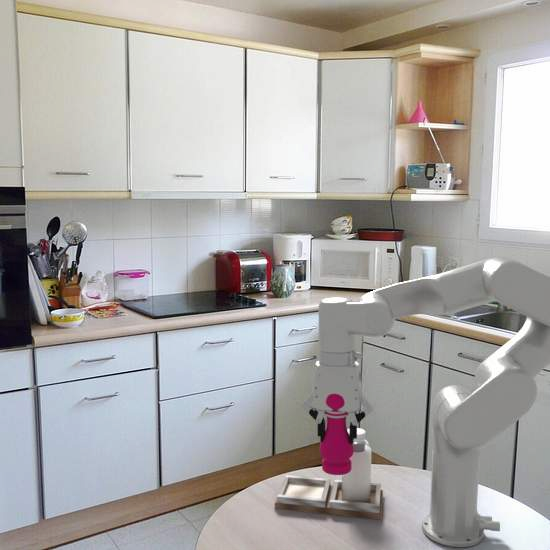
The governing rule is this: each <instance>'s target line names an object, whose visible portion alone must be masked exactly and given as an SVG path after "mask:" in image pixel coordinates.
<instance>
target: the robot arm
mask: <svg viewBox="0 0 550 550" xmlns="http://www.w3.org/2000/svg"><path fill="white" fill-rule="evenodd" d="M492 302H493V303H494V302H498V303H499V304H500V305H503V306H504V307H506V308H508V309H510V310H513V311H515V312H517V313H519V314H522V315H523V316H525V317H526V318H525V321H524V324H523V326H522V327H521V328H520V329H519V331H518V332H516V334H515V335H514V336H513V337H511V338H510V339H509V340H508V341H506V343H504V344H503V345H502V346H500V347H499V348H498V349H496V351H494V352H493V353H491V354H490V355H489V356H488V357H487V358H485V359H484V360H482V362H481V363H480V364H479V365H478V366H477V368H476V370H475V374H474V381H475V384H476V386H477V389H476V390H474V391H472V390H470V389H469V388H467V387H465V386H463V385H458V384H452V385H448V386H445V387H443V388H442V389H440V390H439V391H437V392H438V393H436V395H435V396H434V399H433V402H432V406H431V423H432V424H431V426H432V428H431V429H432V450H431V451H432V454H431V456H432V457H431V478H430V481H431V482H430V502H429V503H430V504H429V507H430V509H429V514H428V515H426V516H425V517H424V518H423V519H422V522H421V529H422V531H423V533H424V534H425V535H426V537H428V538H429V539H431V540H432V541H434V542H436V543H438V544H441V545H443V546H447V547H453V548H468V547H474V546H476V545H478V544H480V543H481V542H482V540H483V539H484V531H485V530H486V531H490V532H500V531H501V523H500V521H496V520H493V517H492V516H490V515H481V513H480V514H479V511H478V496H479V495H478V494H479V491H478V490H479V476H480V475H479V473H480V461H481V460H480V459H481V458H480V457H481V455H480V453H481V451H480V450H481V448H483V447H485V446H486V445H488V444H489V443H491V442H492V441H494V440H495V439H496V438H497V437H498V436H500V435H501V434H503V433H504V432H505V431H506V430H508V429H509V428H510V427H512V426H513V425H515V423H516V422H518V421H519V420H521V418H523V417H524V416H525V415H526V414H527V413H528V412H529V411H530V410H531V409H532V407H533V406H534V404H535V402H536V400H537V396H538V387H537V382H536V380H535V378H536V377H537V376H538V375H539V374H540V373H541V372H542V371H543V370H544V369H546V368H547V367H548V366H549V365H550V276H547V275H546V274H544V273H542V272H540V271H537V270H535V269H533V268H532V267H529V266H527V265H525V264H523V263H521V262H520V261H517V260H514V259H512V258H509V257H505V256H495V257H489V258H486V259H483V260H480V261H476V262H473V263H469V264H467V265H464V266H460V267H458V268H457V267H456V268H454V269H451V270H448V271H444V272H440V273H437V274H433V275H429V276H424V277H421V278H416V279H413V280H406V281H403V282H398V283H394V284H391V285H388V286H385V287H382V288H378V289H375V290H373V291H370V292H367V293H365V294H363V295H361V296H360V297H359V298H358V299H357V301H356V302H354V301H353V300H352V299H350V298H347V297H327V298H324V299H322V300H321V301H320V302H319V303H318V360H317V361H316V362H315V366H314V373H313V381H312V391H311V393H310V394H309V395H308V396H307V397H306V398H305V399H304V401H302V402H301V403H302V404H301V407H302V409H303V410H304V411H306V412H307V413H308V414H309V416H311V418H312V419H313V420H314V421H315V422H316V424H317V437H320V440H319V442H320V443H321V442H323V440H324V434H325V431H326V420H325V418H324V415H325V411H333V410H332V409H331V408H330V407H328V406H327V405H326V399H327V397H328V396H329V395H330V394H339V395H341V396H342V397H343V399H344V402H345V404H344V406H343V407H342V408H340V409H339V410H338V411H340V412H341V411H342V412H348V416H349V420H350V421H349V427H348V429H349V443H350V444H353V441H354V439H357V428H358V424H359V423H360V422H361V421H362V420H363V419H365V417H366V416H368V415H369V414H371V413H372V412H373V411H374V406H373V405H372V403H371V402H370V401H369V400H368V399H367V398H366V397H365V395H364V394H363V389H362V388H363V387H362V376H361V367H360V363H359V362H357V361H359V360H362V359H363V352H359V351H357V350H356V336H357V335H358V336H365V337H370V338H379V337H383V336H385V335H387V334H388V333H389V332H390V331H391V330H392V328H393V326H394V324H395V320H397V319H402V318H406V317H410V316H415V315H430V316H431V315H432V316H449V315H453V314H456V313H460V312H463V311H466V310H470V309H473V308H476V307H479V306H482V305H485V304H489V303H492ZM311 404H312V405H311ZM361 405H362V406H363V407H364V408H363V409H362V410H361Z"/></svg>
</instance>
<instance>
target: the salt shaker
mask: <svg viewBox="0 0 550 550" xmlns="http://www.w3.org/2000/svg"><path fill="white" fill-rule="evenodd" d="M353 448H354V453H353V455H352V457H351V458H350V460H351V468H352V469H351V471H350V472H349V473H347V474H344V475H341V480H342V500H343V501H350V502H360V503H369V502H370V493H371V483H372V480H371V479H372V448H371V446H370V445H369V446H367V445H365V442H364V441H363V440H359V439H354V441H353Z"/></svg>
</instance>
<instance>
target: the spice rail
mask: <svg viewBox="0 0 550 550" xmlns="http://www.w3.org/2000/svg"><path fill="white" fill-rule="evenodd" d="M277 493H278V494H277V495H276V499H275V500H274V509H276V510H283V511H284V510H287V511H296V512H305V513H315V514H322V515H323V514H324V515H333V516H342V517H343V516H345V517H354V518H361V519H362V518H363V519H371V520H373V519H374V520H382V513H383V497H384V490H383V489H382V484H381V483H375V482H371V493H370V502H369V503H360V502H350V501H343V500H342V479H334V481H333V484H331V479H330V478H323V477H322V478H321V477H319V478H318V477H309V476H301V475H289V474H288V475H287V474H285V475H284V478H283V481H282V483H281V486H280V488H279V490H278V492H277Z"/></svg>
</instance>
